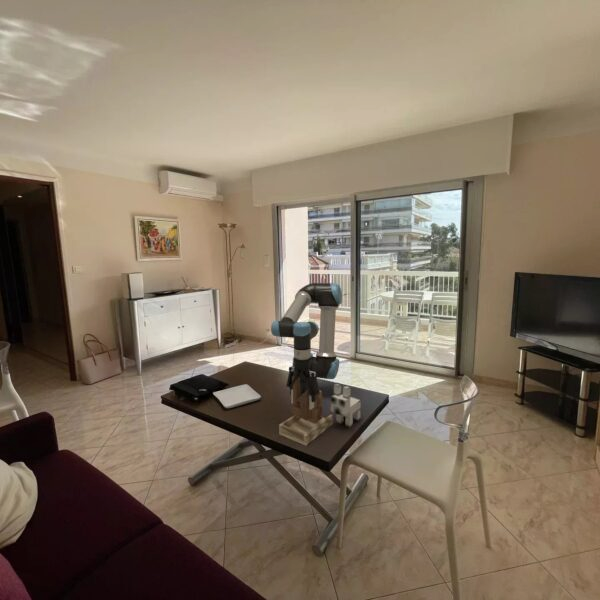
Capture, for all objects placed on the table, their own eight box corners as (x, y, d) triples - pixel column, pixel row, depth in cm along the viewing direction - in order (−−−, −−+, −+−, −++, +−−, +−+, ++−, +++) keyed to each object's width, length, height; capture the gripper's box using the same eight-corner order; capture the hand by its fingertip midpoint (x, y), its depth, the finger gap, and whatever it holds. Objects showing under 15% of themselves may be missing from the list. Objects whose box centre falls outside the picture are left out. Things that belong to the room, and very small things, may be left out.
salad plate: (225, 412, 165) (225, 406, 165) (212, 397, 183) (212, 391, 182) (262, 402, 177) (262, 396, 176) (246, 388, 194) (246, 383, 194)
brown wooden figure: (306, 421, 140) (306, 382, 138) (290, 412, 148) (289, 375, 145) (312, 418, 143) (312, 380, 140) (296, 409, 150) (295, 373, 148)
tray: (307, 414, 162) (307, 406, 161) (332, 423, 153) (332, 415, 152) (279, 434, 144) (278, 425, 143) (305, 445, 135) (305, 436, 135)
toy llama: (362, 416, 159) (363, 378, 156) (344, 431, 146) (344, 390, 143) (349, 412, 164) (350, 375, 161) (330, 426, 150) (330, 386, 148)
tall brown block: (315, 415, 157) (315, 389, 155) (322, 418, 155) (322, 391, 153) (308, 420, 152) (308, 393, 151) (315, 423, 150) (315, 395, 148)
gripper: (277, 355, 145) (278, 401, 148) (318, 364, 131) (318, 415, 135) (288, 351, 151) (288, 396, 154) (327, 359, 137) (327, 408, 140)
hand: (302, 405), depth 144 cm, fingers open, 9 cm apart
